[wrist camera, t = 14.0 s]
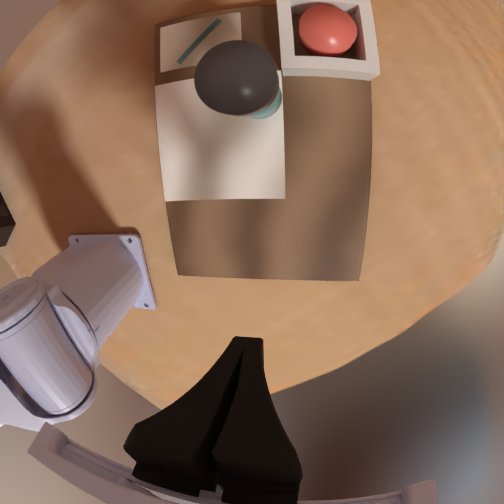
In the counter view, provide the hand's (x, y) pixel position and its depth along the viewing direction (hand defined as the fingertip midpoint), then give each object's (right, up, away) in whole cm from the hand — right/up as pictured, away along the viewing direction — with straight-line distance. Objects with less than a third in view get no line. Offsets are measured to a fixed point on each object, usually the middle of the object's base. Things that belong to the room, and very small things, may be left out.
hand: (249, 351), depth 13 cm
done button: (+5, +19, 0) cm, 19 cm away
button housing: (+5, +19, +1) cm, 20 cm away
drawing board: (+1, +13, +5) cm, 14 cm away
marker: (+1, +15, +3) cm, 15 cm away
